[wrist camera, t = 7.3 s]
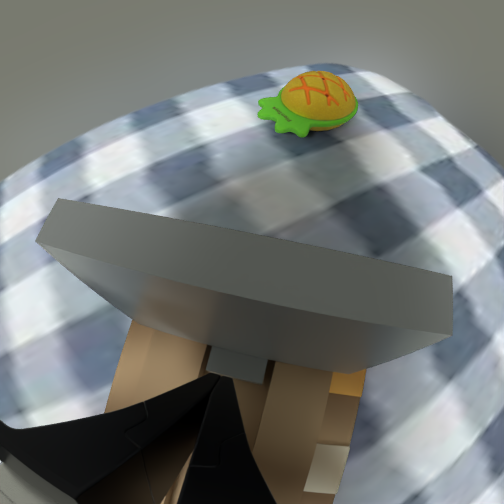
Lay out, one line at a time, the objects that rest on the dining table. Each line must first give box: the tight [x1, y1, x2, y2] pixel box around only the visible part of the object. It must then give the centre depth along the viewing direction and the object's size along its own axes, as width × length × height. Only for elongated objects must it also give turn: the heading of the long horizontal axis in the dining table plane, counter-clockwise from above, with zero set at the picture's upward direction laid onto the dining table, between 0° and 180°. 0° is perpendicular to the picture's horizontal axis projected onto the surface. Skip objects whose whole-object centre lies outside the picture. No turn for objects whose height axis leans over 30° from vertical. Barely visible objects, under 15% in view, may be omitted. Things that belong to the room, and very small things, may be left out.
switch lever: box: [35, 198, 453, 385], centre depth 11 cm, size 4×11×11 cm, turn 76°
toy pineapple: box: [258, 71, 358, 137], centre depth 25 cm, size 7×10×5 cm
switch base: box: [104, 320, 366, 504], centre depth 13 cm, size 20×14×3 cm
